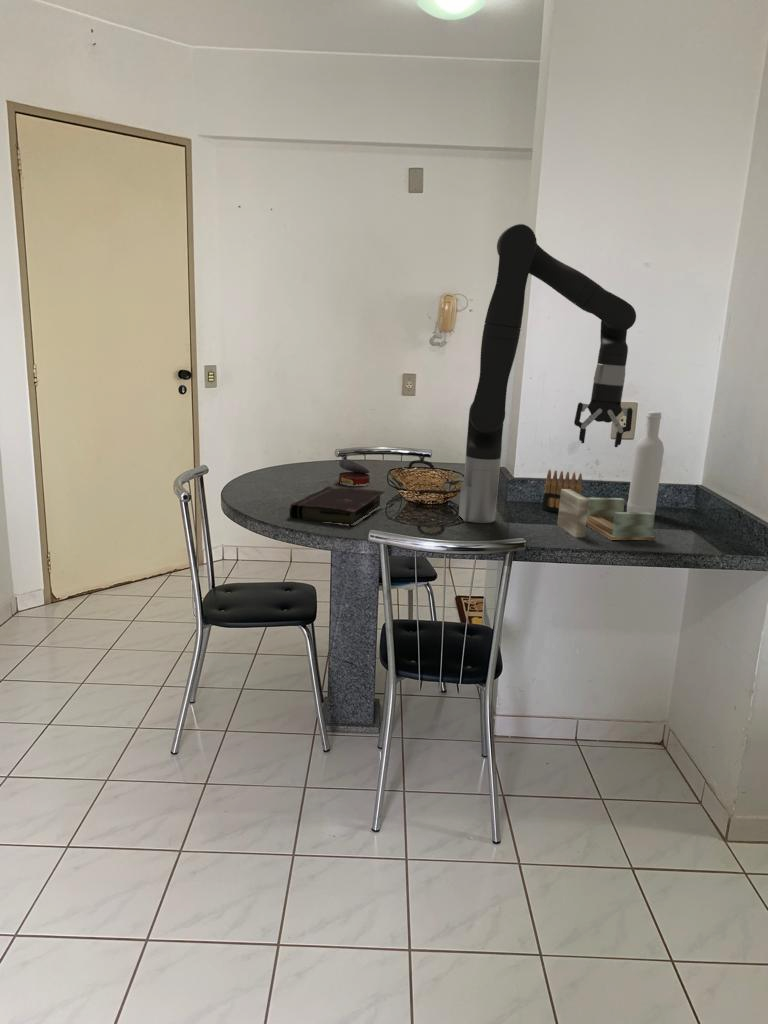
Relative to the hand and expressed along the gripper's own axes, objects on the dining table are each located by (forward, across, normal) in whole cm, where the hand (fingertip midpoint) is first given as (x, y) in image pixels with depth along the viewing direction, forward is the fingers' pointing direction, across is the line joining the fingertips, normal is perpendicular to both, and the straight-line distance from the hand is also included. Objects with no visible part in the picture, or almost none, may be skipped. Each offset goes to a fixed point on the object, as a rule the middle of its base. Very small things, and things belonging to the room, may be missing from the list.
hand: (599, 444), depth 198 cm
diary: (+25, -65, -14) cm, 71 cm away
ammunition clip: (+23, -7, +15) cm, 28 cm away
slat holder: (+22, +8, -2) cm, 23 cm away
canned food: (+24, -72, +24) cm, 80 cm away
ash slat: (+22, -4, -7) cm, 24 cm away
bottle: (+22, +16, +22) cm, 35 cm away
